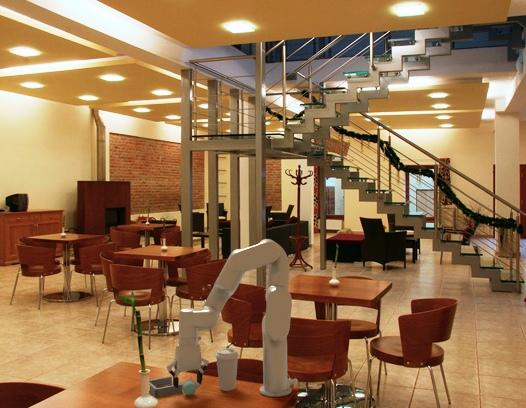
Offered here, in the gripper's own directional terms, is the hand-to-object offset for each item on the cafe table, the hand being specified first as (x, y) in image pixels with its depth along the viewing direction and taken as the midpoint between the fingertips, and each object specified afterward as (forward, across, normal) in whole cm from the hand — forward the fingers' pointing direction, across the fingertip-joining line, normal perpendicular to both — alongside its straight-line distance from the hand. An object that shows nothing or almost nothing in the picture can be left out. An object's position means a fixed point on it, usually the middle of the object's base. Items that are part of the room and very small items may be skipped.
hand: (187, 384), depth 211 cm
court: (+4, +6, -11) cm, 13 cm away
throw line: (+4, +3, -11) cm, 12 cm away
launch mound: (+16, -6, -10) cm, 20 cm away
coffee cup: (+4, -17, +1) cm, 17 cm away
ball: (+1, -1, 0) cm, 2 cm away
